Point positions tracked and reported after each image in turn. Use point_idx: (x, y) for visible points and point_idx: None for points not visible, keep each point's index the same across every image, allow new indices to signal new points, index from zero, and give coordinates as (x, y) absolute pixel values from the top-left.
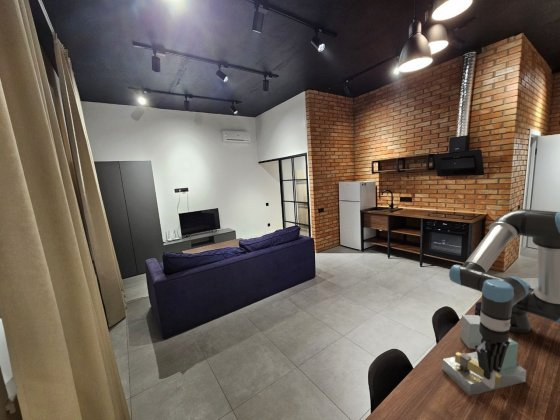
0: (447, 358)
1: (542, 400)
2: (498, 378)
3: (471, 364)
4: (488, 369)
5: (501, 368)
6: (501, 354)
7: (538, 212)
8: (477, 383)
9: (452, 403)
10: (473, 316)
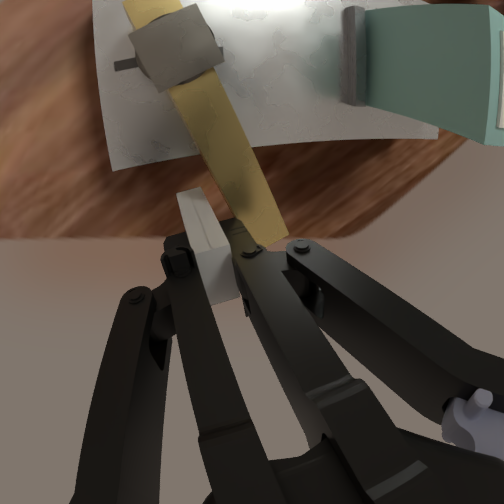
0: None
1: (373, 194)
2: None
3: (177, 108)
4: (168, 347)
5: (370, 106)
6: (369, 362)
7: None
8: (163, 158)
9: (25, 190)
10: None
